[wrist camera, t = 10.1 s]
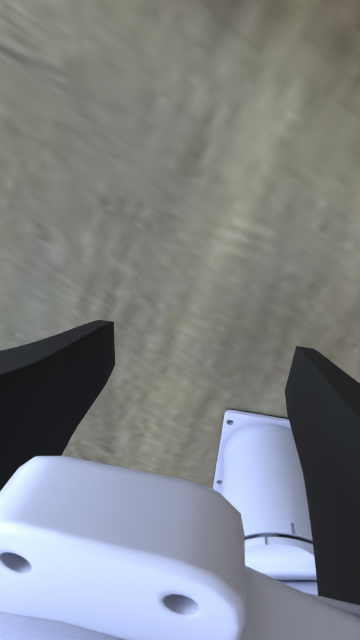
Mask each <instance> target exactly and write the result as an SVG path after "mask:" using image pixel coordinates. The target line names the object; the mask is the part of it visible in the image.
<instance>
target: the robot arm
mask: <svg viewBox="0 0 360 640" xmlns="http://www.w3.org/2000/svg"><path fill="white" fill-rule="evenodd" d="M114 366H115V349H114V322H111V321H104V320H97V321H93V322H90V323H87V324H84V325H81V326H79V327H76V328H73V329H71V330H68V331H65V332H63V333H60V334H57V335H54V336H51V337H48V338H45V339H42V340H40V341H37V342H33V343H30V344H26V345H23V346H19V347H15V348H11V349H7V350H2V351H0V640H360V383H358V382H357V381H356V380H354V379H353V378H352V377H350V376H349V375H348V374H346V373H345V372H344V371H342V370H341V369H340V368H339V367H337V366H336V365H335V364H334V363H332V362H331V361H330V360H328V359H327V358H326V357H325V356H323V355H322V354H321V353H319V352H318V351H316V350H315V349H312V348H305V347H298V346H296V350H295V353H294V357H293V361H292V365H291V369H290V373H289V377H288V381H287V385H286V388H285V396H286V406H287V414H288V418H289V419H284V418H278V417H272V416H266V415H260V414H254V413H248V412H241V411H235V410H227V411H226V412H225V415H224V422H223V428H222V434H221V440H220V447H219V453H218V459H217V465H216V471H215V478H214V484H213V489H210V488H208V487H205V486H203V485H200V484H198V483H195V482H193V481H189V480H184V479H179V478H174V477H169V476H164V475H159V474H154V473H149V472H144V471H139V470H134V469H129V468H124V467H119V466H114V465H109V464H104V463H99V462H94V461H89V460H84V459H79V458H74V457H69V456H61V455H62V453H63V451H64V449H65V447H66V446H67V444H68V442H69V440H70V438H71V436H72V434H73V433H74V431H75V430H76V428H77V426H78V425H79V423H80V422H81V420H82V419H83V417H84V416H85V414H86V413H87V411H88V410H89V409H90V407H91V406H92V404H93V403H94V401H95V400H96V398H97V397H98V395H99V394H100V392H101V391H102V389H103V388H104V386H105V385H106V383H107V381H108V379H109V377H110V375H111V372H112V370H113V368H114ZM228 420H232V422H229V421H228ZM220 480H221V481H220ZM221 494H222V495H221Z"/></svg>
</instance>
